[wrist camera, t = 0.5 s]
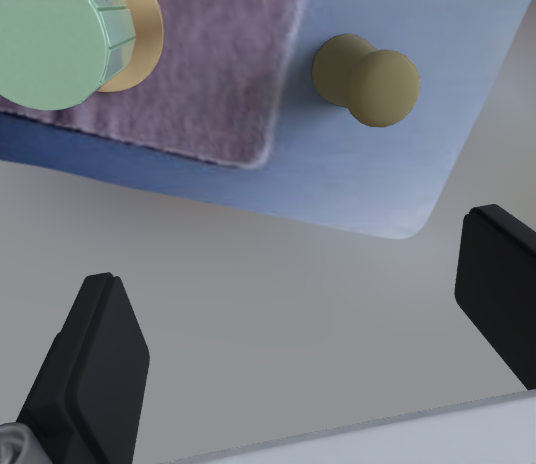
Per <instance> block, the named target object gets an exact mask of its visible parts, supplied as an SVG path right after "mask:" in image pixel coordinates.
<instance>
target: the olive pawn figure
mask: <svg viewBox="0 0 536 464" xmlns="http://www.w3.org/2000/svg"><path fill="white" fill-rule="evenodd" d="M312 79H313V84H314V87H315V88H316V90H317V92H318V94H319V95H320V96H321V97H322V98H323V99H324V100H325V101H328V102H330V103H333V104H335V105H339V106H342V107H345V108H348V109H349V111H350V113H351V114H352V115H353V116H354V117H355V118H356V119H357V120H358V121H359V122H360V123H362V124H365V125H367V126H370V127H386V126H390V125H394V124H395V123H397V122H399V121H400V120H402V119H403V118H404V117H405V116H406V115H407V114H408V113H409V112H410V111H411V110H412V108H413V106H414V105H415V103H416V101H417V99H418V95H419V91H420V77H419V74H418V71H417V69H416V66H415V65H414V64H413V63H412V62H411V60H410V59H409V58H408V57H407V56H406V55H404V54H401V53H399V52H397V51H394V50H377V49H376V48H375V47H374V46H373V45H371V44H370V43H369V42H368V41H366V40H365V39H363V38H361V37H359V36H357V35H353V34H343V35H339V36H335V37H333V38H332V39H330V40H329V41H327V42H326V43H325V44H324V45H323V46H322V48H321V49H320V50H319V51H318V53H317V55H316V57H315V60H314V62H313V68H312Z"/></svg>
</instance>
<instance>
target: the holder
mask: <svg viewBox="0 0 536 464" xmlns="http://www.w3.org/2000/svg"><path fill="white" fill-rule="evenodd" d="M124 1H125V3H126V4H127V5H128V7H127V8H126V9H130V13H131V17H132V21H133V25H134V29H135V33H136V36H135V37H133V38H136V42H135V46H134V49H133V53H132V57H131V61H130V63H128V66H127V67H126V68H125V69H123V70H122V71H121V72H120V73H119V74H118V75H117V76H115V77H114V78H113V79H112V80H111V81H109V82H108V83H107V84H106V85H104V86H103V87H102V88H100V89H99V90H98V91H99V92H118V91H123V90H126V89H129V88H132V87H133V86H135V85H137V84H139V83H140V82H141V81H143V80H144V79H145V78H146V77H147V76H148V75H149V74H150V73H151V72H152V70H153V69H154V68H155V66H156V65H157V63H158V61H159V59H160V56H161V53H162V50H163V45H164V37H165V31H164V21H163V16H162V12H161V8H160V6H159V3H158V1H157V0H124Z"/></svg>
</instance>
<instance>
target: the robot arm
mask: <svg viewBox="0 0 536 464" xmlns="http://www.w3.org/2000/svg"><path fill="white" fill-rule="evenodd" d="M455 299H456V301H457V303H458V305H459V306H460V308H461V309H462V310H463V311H464V312H465V314H466V315H467V316H468V317H469V319H470V320H471V321H472V322H473V323H474V325H475V326H476V327H477V328H478V330H479V331H480V332H481V333H482V335H483V336H484V337H485V338H486V339H487V341H488V342H489V343H490V344H491V346H492V347H493V348H494V349H495V351H496V352H497V353H498V354H499V355H500V357H501V358H502V359H503V360H504V362H505V363H506V364H507V365H508V366H509V368H510V369H511V370H512V371H513V373H514V374H515V375H516V376H517V378H518V379H519V380H520V381H521V382H522V384H523V385H524V386H525V387H526V389H527V390H528V391H523V392H518V393H512V394H507V395H502V396H497V397H491V398H486V399H481V400H475V401H470V402H465V403H460V404H455V405H449V406H444V407H439V408H433V409H428V410H424V411H418V412H413V413H408V414H403V415H398V416H393V417H387V418H382V419H377V420H372V421H367V422H362V423H357V424H352V425H347V426H342V427H337V428H332V429H326V430H321V431H316V432H311V433H306V434H301V435H297V436H291V437H287V438H281V439H276V440H271V441H266V442H262V443H257V444H252V445H247V446H242V447H237V448H232V449H227V450H222V451H217V452H212V453H208V454H202V455H197V456H193V457H188V458H183V459H179V460H174V461H170V462H166V463H160V464H536V232H535V231H533V230H532V229H531V228H529V227H528V226H526V225H525V224H524V223H522V222H521V221H519V220H518V219H517V218H515V217H514V216H512V215H511V214H509V213H508V212H507V211H505V210H504V209H502V208H501V207H500V206H498V205H496V204H491V205H485V206H480V207H474V208H472V209H471V210H470V212H469V214H467V215H465V217H464V220H463V228H462V236H461V244H460V252H459V260H458V267H457V276H456V283H455ZM149 358H150V357H149V350H148V347H147V345H146V342H145V339H144V337H143V334H142V332H141V329H140V327H139V324H138V322H137V319H136V316H135V314H134V311H133V309H132V306H131V304H130V301H129V299H128V296H127V294H126V291H125V288H124V286H123V283H122V281H121V279H120V277H118V276H116V277H113V275H112V274H111V273H109V272H107V273H101V274H96V275H90V276H87V277H86V278H85V280H84V282H83V284H82V286H81V288H80V291H79V293H78V295H77V297H76V299H75V301H74V304H73V306H72V308H71V310H70V312H69V315H68V317H67V319H66V321H65V323H64V325H63V328H62V330H61V332H59V333H58V334H57V335H56V337H55V339H54V341H53V343H52V345H51V347H50V349H49V351H48V354H47V356H46V358H45V360H44V362H43V364H42V366H41V369H40V371H39V373H38V375H37V377H36V379H35V382H34V384H33V386H32V388H31V390H30V392H29V394H28V397H27V399H26V401H25V403H24V405H23V407H22V410H21V411H20V414H19V416H18V418H17V420H16V422H12V423H5V424H2V425H0V464H132V461H133V454H134V449H135V443H136V438H137V432H138V426H139V420H140V414H141V409H142V403H143V397H144V391H145V385H146V379H147V374H148V368H149V360H150V359H149Z"/></svg>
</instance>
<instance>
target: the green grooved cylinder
mask: <svg viewBox="0 0 536 464" xmlns="http://www.w3.org/2000/svg"><path fill="white" fill-rule="evenodd" d="M127 7H128V5H127V4H126V3H125V1H124V0H0V95H1V96H3V97H5V98H7V99H8V100H10V101H12V102H14V103H17V104H19V105H21V106H25V107H28V108H32V109H37V110H48V111H51V110H61V109H65V108H69V107H71V106H76V105H78V104H81V103H82V102H83V101H85V100H86V99H87V98H89V97H90V96H91V95H93V94H94V93H95V92H96V91H98V90H99V89H100V88H102V87H103V86H104V85H106V84H107V83H108V82H109V81H111V80H112V79H113V78H114V77H115V76H117V75H118V74H119V73H120V72H121V71H122V70H123V69H125V68H126V67H127V66H128V63H130V61H131V57H132V53H133V49H134V46H135V42H136V38H133V37H135V36H136V33H135V29H134V25H133V21H132V17H131V13H130V9H126V8H127Z"/></svg>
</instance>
